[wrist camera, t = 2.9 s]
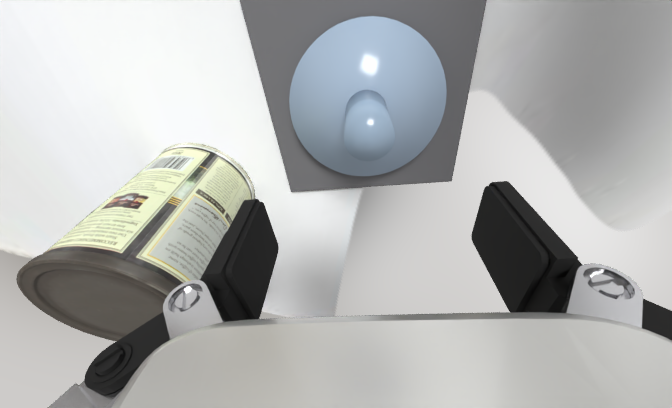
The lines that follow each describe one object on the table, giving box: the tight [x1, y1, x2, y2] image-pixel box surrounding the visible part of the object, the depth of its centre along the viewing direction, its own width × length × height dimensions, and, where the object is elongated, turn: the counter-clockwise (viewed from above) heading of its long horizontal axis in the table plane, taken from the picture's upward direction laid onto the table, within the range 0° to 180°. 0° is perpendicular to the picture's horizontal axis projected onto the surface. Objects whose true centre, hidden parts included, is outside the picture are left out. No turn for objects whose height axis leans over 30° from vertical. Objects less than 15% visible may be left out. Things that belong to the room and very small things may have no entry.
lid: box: [289, 16, 447, 176], centre depth 19 cm, size 12×12×6 cm
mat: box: [240, 0, 486, 192], centre depth 21 cm, size 16×16×1 cm
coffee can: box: [17, 143, 255, 341], centre depth 22 cm, size 10×10×14 cm
